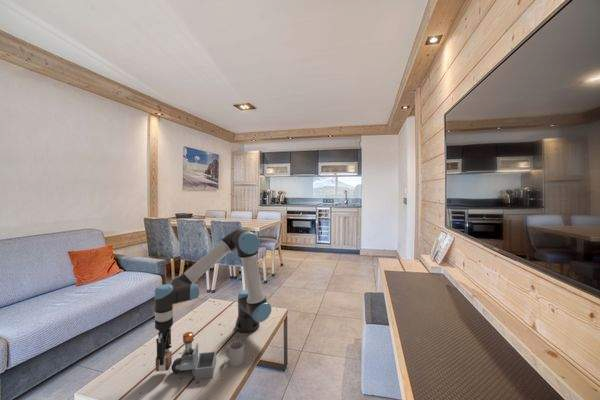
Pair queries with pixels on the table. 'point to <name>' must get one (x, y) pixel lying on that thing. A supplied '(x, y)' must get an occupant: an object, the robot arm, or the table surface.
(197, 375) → the bin
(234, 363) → the cup
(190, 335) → the pin
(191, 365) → the grey bracket
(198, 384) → the table surface
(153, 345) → the table surface
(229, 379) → the table surface
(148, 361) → the table surface
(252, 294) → the robot arm
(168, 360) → the block
